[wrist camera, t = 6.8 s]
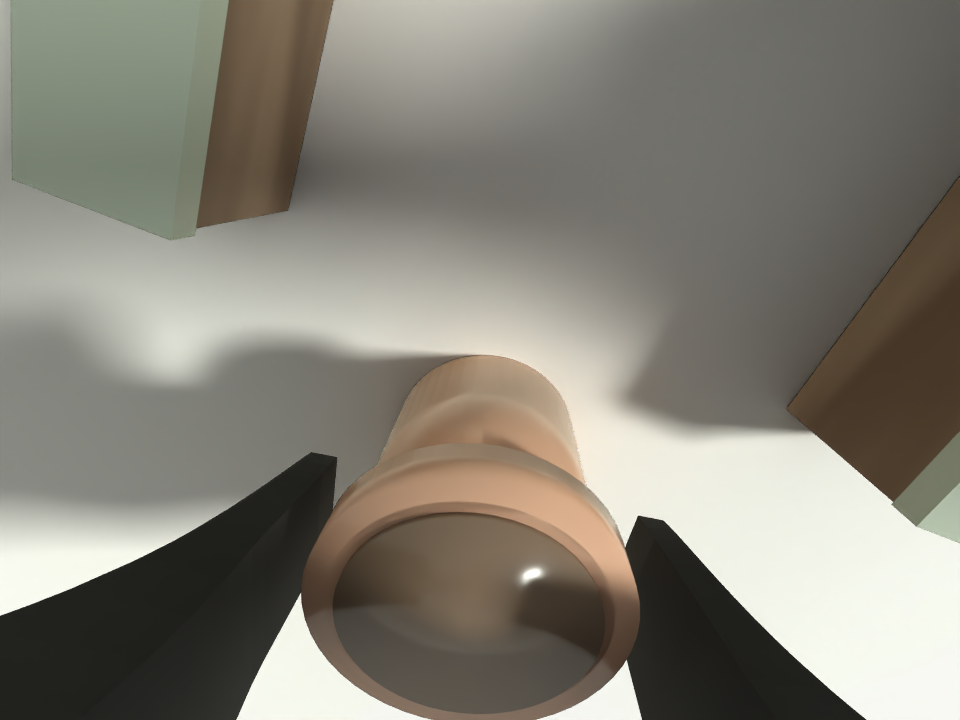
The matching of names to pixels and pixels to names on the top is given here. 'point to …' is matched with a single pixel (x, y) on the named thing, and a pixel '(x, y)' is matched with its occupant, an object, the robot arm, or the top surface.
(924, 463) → the green brown u-shaped frame
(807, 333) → the top surface
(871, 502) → the top surface
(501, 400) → the seedling pot
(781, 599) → the top surface
